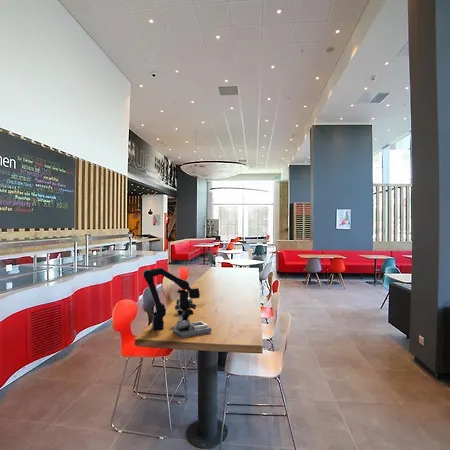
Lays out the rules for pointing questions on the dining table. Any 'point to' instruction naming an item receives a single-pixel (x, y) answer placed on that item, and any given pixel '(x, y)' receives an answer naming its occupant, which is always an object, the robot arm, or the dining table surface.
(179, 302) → the pneumatic valve
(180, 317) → the drain pump
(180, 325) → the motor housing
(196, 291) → the robot arm
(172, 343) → the dining table surface
